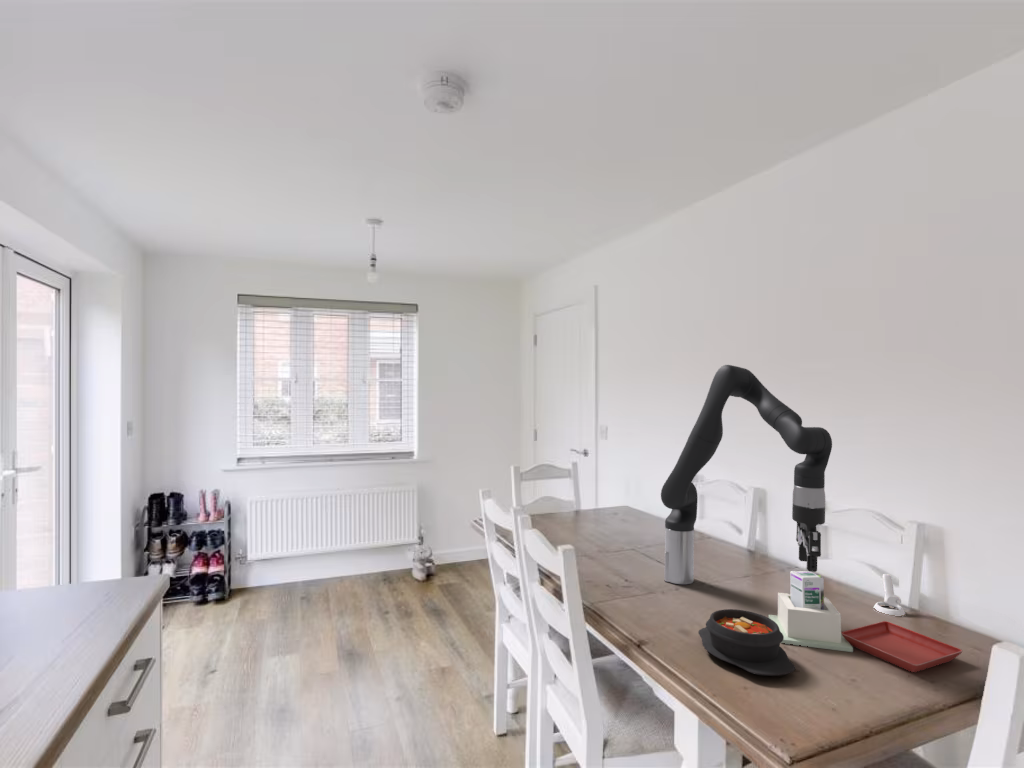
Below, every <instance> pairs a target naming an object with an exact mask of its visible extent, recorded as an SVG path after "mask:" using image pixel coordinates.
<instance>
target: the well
mask: <svg viewBox="0 0 1024 768" xmlns="http://www.w3.org/2000/svg"><path fill="white" fill-rule="evenodd" d="M790 594H791V593H786V592H777V614H768V616H767V617H768V618H770V619H771V620H773V621H774V622H775V623H776V624H777V625H778V627H779V630H780V632H781V633H782V634H783V636H784V639H783V641H782V642H781V643H780V644H782V643H785V644H784V645H790V644H793V646H799V645H801V646H800V647H807V646H808V648H816V649H817V648H818V649H826V650H833V651H842V652H848V653H853V652H854V647H853V646H852V645H851V644H850V643H849V642H848V641H847V640H846V639H845V638H844V637H843V636H842V634H841V632H842V613H840V611H838V609H837V608H836V606H835V605H834V604H833V603H832V602H831V600H830V599H829V598H828V597H826V596H824V610H819V609H809V608H800V607H794V605H793V604H792V602H791V596H790Z"/></svg>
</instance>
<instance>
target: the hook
mask: <svg viewBox="0 0 1024 768" xmlns="http://www.w3.org/2000/svg"><path fill="white" fill-rule="evenodd" d="M882 582H883V583H882V584H883V590H884V599H883V601H877V602H876V603H875V604H874V606H873V608H875V609H876V610H877V611H879V612H882V613H885V614H889V615H895V616H901V615H904V614H906V612H905V609H904V608H903V607H902V606H901V603H902V600H901V598H900V596H898V595H896V594H895V592H894V591H895V590H894V583H893V578H892V575H891V574H887V573H883V574H882ZM880 605H885V606H892V607H894V608H897V609H899V610H897V609H893V608H888V607H881V606H880ZM877 611H876V612H877ZM879 612H878V613H879ZM885 614H884V615H885ZM889 615H888V616H889ZM895 616H894V617H895Z"/></svg>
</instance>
